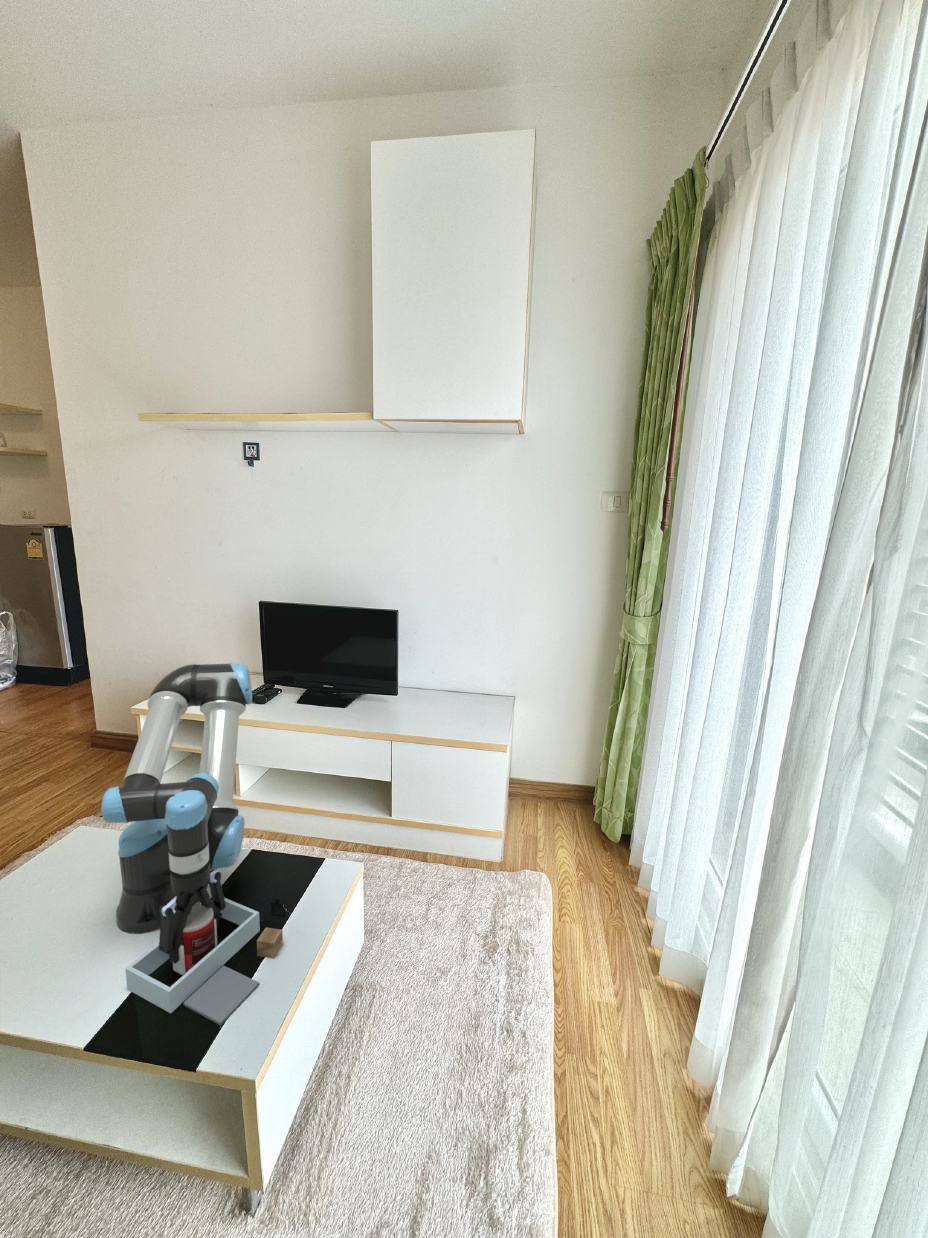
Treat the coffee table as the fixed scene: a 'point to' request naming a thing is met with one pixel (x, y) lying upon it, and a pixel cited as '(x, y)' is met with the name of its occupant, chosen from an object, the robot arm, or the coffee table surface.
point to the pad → (221, 995)
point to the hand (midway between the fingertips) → (196, 957)
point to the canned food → (198, 935)
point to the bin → (197, 974)
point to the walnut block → (269, 943)
